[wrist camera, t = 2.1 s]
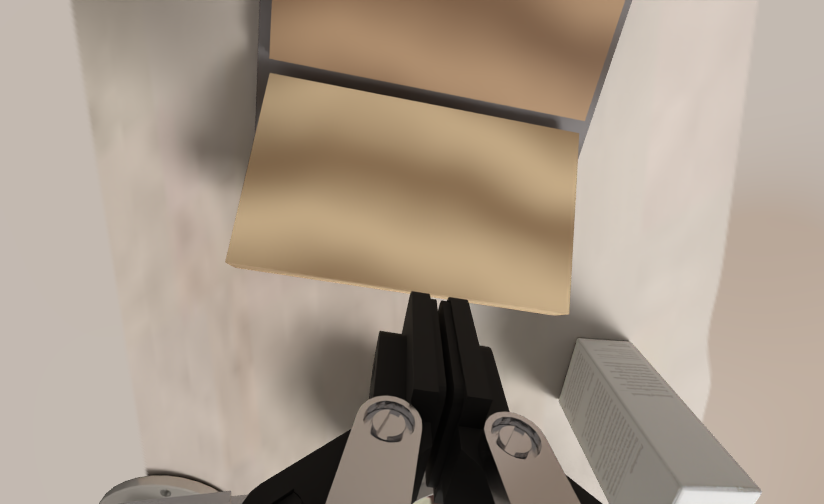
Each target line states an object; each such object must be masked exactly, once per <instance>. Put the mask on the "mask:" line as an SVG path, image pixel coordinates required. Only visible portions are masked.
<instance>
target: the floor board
mask: <svg viewBox="0 0 824 504" xmlns="http://www.w3.org/2000/svg"><path fill="white" fill-rule="evenodd" d="M631 2H632V0H260V10H259V39H258V68H257V97H256V125H255V133H256V129H257V125H258V121H259V116H260V112H261V108H262V104H263V99H264V95H265V91H266V87H267V82H268V78H269V74H270V73H273V74H278V75H283V76H288V77H293V78H299V79H304V80H309V81H314V82H319V83H324V84H329V85H334V86H340V87H345V88H350V89H355V90H360V91H365V92H370V93H375V94H381V95H386V96H391V97H396V98H401V99H406V100H411V101H417V102H422V103H427V104H432V105H437V106H442V107H447V108H452V109H458V110H463V111H468V112H473V113H478V114H483V115H488V116H493V117H499V118H504V119H509V120H514V121H519V122H524V123H529V124H534V125H540V126H545V127H550V128H555V129H560V130H565V131H570V132H575V133H579V146H578V158H579V155H580V152H581V149H582V146H583V143H584V140H585V137H586V134H587V131H588V128H589V125H590V122H591V120H592V117H593V114H594V111H595V108H596V105H597V102H598V99H599V96H600V93H601V90H602V87H603V84H604V81H605V78H606V75H607V73H608V70H609V67H610V64H611V61H612V58H613V55H614V52H615V49H616V46H617V43H618V40H619V37H620V34H621V31H622V28H623V26H624V23H625V20H626V17H627V14H628V11H629V8H630V5H631Z"/></svg>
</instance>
